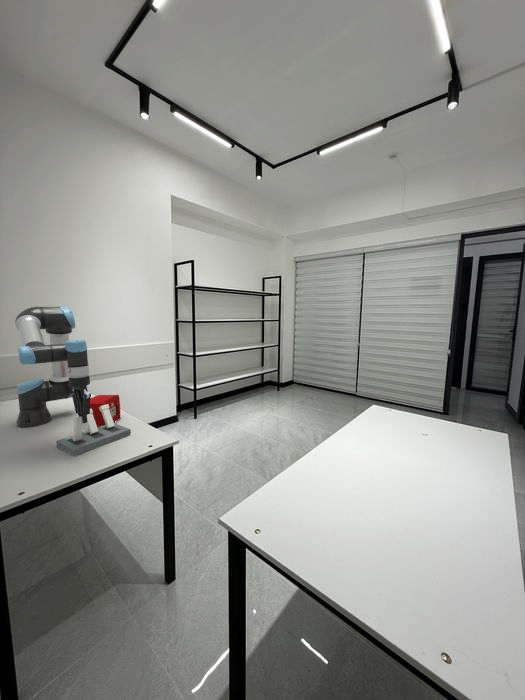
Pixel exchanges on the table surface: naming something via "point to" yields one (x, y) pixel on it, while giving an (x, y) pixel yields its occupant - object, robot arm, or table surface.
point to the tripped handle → (77, 430)
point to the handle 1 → (91, 423)
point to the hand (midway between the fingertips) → (84, 429)
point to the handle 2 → (107, 416)
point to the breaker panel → (93, 439)
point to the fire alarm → (103, 400)
